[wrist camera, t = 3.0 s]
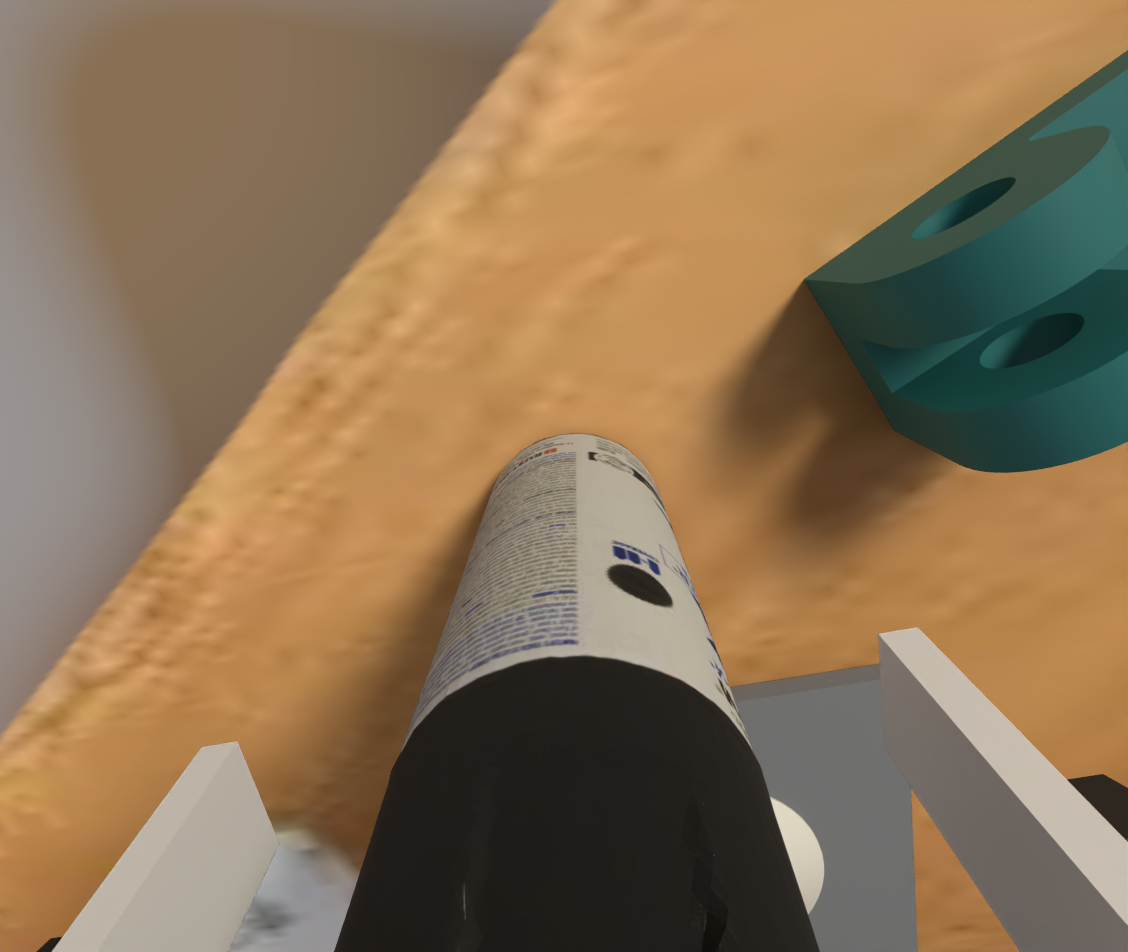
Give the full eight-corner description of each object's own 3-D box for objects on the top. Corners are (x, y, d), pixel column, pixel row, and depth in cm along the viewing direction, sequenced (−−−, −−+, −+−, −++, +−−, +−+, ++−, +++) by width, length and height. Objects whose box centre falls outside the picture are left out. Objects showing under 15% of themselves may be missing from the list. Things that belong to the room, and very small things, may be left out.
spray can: (652, 593, 27) (850, 1374, 8) (484, 586, 27) (288, 1356, 8) (667, 433, 25) (977, 975, 6) (486, 425, 25) (227, 946, 6)
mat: (894, 661, 28) (908, 678, 27) (908, 969, 33) (920, 994, 32) (474, 727, 29) (471, 746, 28) (554, 1015, 35) (553, 1041, 33)
